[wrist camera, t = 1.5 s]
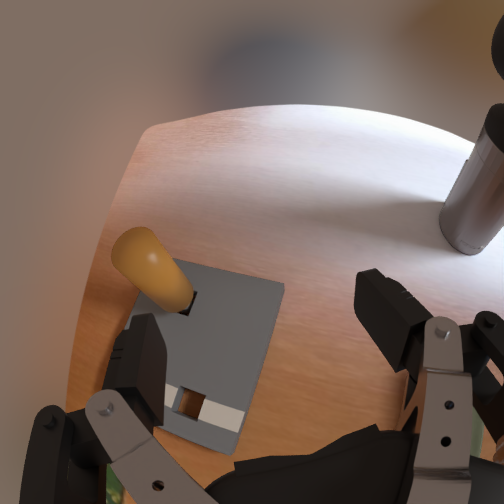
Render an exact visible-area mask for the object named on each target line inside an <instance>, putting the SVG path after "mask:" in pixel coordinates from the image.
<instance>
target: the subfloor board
mask: <svg viewBox="0 0 504 504" xmlns="http://www.w3.org/2000/svg"><path fill="white" fill-rule="evenodd" d="M172 259H173V260H174V262H175V263H176V264H177V265H178V267H179V268H180V269H181V271H182V272H183V273H184V275H185V276H186V277H187V279H188V280H189V281H190V282H191V284H192V286H193V290H194V294H193V295H195V296H196V298H195V301H194V303H193V306H192V308H191V311H190V314H189V316H185V315H182V314H179V313H170V312H167V311H165V310H163V309H162V308H161V307H160V306H159V305H157V304H156V303H155V302H154V301H153V300H151V299H150V298H149V297H148V296H147V295H145V294H144V293H143V292H142V291H141V290H140V293H139V295H138V297H137V300H136V302H135V304H134V307H133V309H132V311H131V314H130V316H129V319H128V321H127V324H126V326H125V329H124V330H126V329H129V326H130V322H131V319H132V316H133V315H139V314H145V313H152V314H153V315H154V317H155V319H156V322H157V324H158V327H159V329H160V332H161V334H162V336H163V339H164V341H165V344H166V348H167V370H166V385H165V403H164V426H158V427H160V428H162V429H164V430H166V431H168V432H171V433H173V434H175V435H177V436H180V437H182V438H184V439H187V440H189V441H191V442H194V443H196V444H199V445H202V446H204V447H207V448H210V449H212V450H215V451H218V452H221V453H224V454H227V455H232V454H233V453H234V451H235V448H236V445H237V442H238V439H239V436H240V434H241V431H242V428H243V425H244V422H245V419H246V416H247V413H248V410H249V407H250V404H251V401H252V398H253V394H254V391H255V388H256V385H257V382H258V379H259V375H260V372H261V369H262V366H263V363H264V359H265V356H266V353H267V349H268V346H269V343H270V339H271V336H272V333H273V329H274V326H275V322H276V319H277V315H278V312H279V308H280V305H281V301H282V297H283V294H284V283H280V282H275V281H271V280H266V279H261V278H257V277H252V276H248V275H243V274H239V273H234V272H230V271H226V270H221V269H217V268H212V267H208V266H204V265H200V264H195V263H191V262H187V261H183V260H178V259H174V258H172ZM185 388H188V389H190V390H193V391H196V392H198V393H201V394H204V395H206V398H205V399H204V402H203V405H202V408H201V411H200V414H199V417H198V419H196V418H194V417H191V416H188V415H186V414H184V413H181V412H179V411H178V408H179V405H180V402H181V399H182V396H183V393H184V390H185Z"/></svg>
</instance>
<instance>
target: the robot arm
mask: <svg viewBox="0 0 504 504" xmlns="http://www.w3.org/2000/svg"><path fill="white" fill-rule="evenodd" d="M491 54H492V59H493V63H494V66H495V68H496V70H497V72H498V73H499V75H500V76H501V77H502V79H503V80H504V15H503V16H502V18H501V19H500V21H499V23H498V25H497V27H496V29H495V32H494V35H493V39H492V46H491ZM439 220H440V226H441V230H442V232H443V234H444V236H445V237H446V239H447V240H448V241H449V243H450V244H451V245H452V246H453V247H455V248H456V249H457V250H459V251H460V252H462V253H465V254H469V255H475V254H478V253H480V252H481V251H482V250H483V249H484V248H485V247H486V246H487V245H488V244H489V242H490V241H491V240H492V239H493V238H494V237H495V236H496V234H497V233H498V232H499V231H500V230H501V228H502V227H503V226H504V104H502V103H500V104H495V105H493V106H492V107H491V108H490V110H489V112H488V114H487V117H486V119H485V122H484V125H483V127H482V130H481V132H480V135H479V137H478V140H477V142H476V144H475V146H474V149H473V151H472V153H471V155H470V157H469V159H467V160H466V161H465V163H464V165H463V167H462V169H461V171H460V174H459V176H458V178H457V180H456V181H455V183H454V185H453V187H452V189H451V191H450V193H449V195H448V197H447V199H446V200H445V205H444V207H443V209H442V211H441V213H440V218H439ZM354 310H355V314H356V316H357V318H358V319H359V321H360V322H361V324H362V325H363V326H364V328H365V329H366V331H367V332H368V333H369V335H370V336H371V338H372V339H373V341H374V342H375V343H376V345H377V346H378V348H379V349H380V351H381V352H382V354H383V355H384V356H385V358H386V359H387V361H388V362H389V364H390V365H391V367H392V368H393V370H394V371H395V373H397V372H399V371H401V370H404V369H407V371H408V375H407V378H406V385H405V391H404V397H403V403H402V408H401V413H400V417H399V420H398V423H397V425H396V428H395V430H385V431H379V429H378V427H377V425H376V424H373V425H371V426H368V427H366V428H363V429H361V430H358V431H355V432H352V433H350V434H347V435H344V436H342V437H341V438H339V439H337V440H336V441H334V442H332V443H331V444H329V445H327V446H326V447H324V448H322V449H320V450H318V451H317V452H315V453H313V454H310V455H291V456H266V457H261V458H256V459H250V460H244V461H238V462H234V467H235V470H234V471H232V472H229V473H227V474H225V475H223V476H221V477H219V478H218V479H216V480H215V481H213V482H212V483H211V484H210V485H208V486H207V487H206V488H205V489H204V488H203V487H202V486H200V485H199V484H198V483H197V482H196V481H195V480H194V479H193V478H192V477H191V476H190V475H189V474H188V473H187V472H186V471H185V470H184V469H183V468H182V467H181V466H180V465H179V464H178V463H177V462H176V461H175V460H174V459H173V458H172V457H171V455H170V454H169V453H168V452H167V451H166V450H165V449H164V448H163V447H162V445H161V444H160V443H159V442H158V441H157V440H156V439H155V437H154V436H153V427H154V426H164V403H165V385H166V370H167V348H166V344H165V341H164V339H163V336H162V334H161V332H160V329H159V327H158V324H157V322H156V319H155V317H154V315H153V314H152V313H145V314H139V315H133V316H132V319H131V322H130V326H129V329H126V330H122V332H121V333H120V334H119V336H118V337H117V338H116V339H115V343H114V346H113V352H112V353H111V357H110V359H111V360H109V364H108V368H107V371H106V375H105V379H104V383H103V387H102V390H101V391H99V392H97V393H95V394H94V395H93V396H91V397H90V399H89V400H88V402H87V404H86V407H85V408H84V409H81V410H77V411H74V412H70V413H67V414H66V413H65V412H64V411H63V410H62V409H61V408H60V407H58V406H56V405H50V406H47V407H44V408H43V409H41V410H40V412H38V414H37V416H36V417H35V420H34V425H33V428H32V432H31V436H30V441H29V445H28V449H27V454H26V459H25V464H24V471H23V477H22V484H21V491H20V501H19V504H106V469H107V463H110V465H111V468H112V469H113V471H114V473H115V474H116V476H117V477H118V479H119V480H120V482H121V483H122V484H123V486H124V487H125V489H126V490H127V491H128V493H129V494H130V495H131V497H132V498H133V499H134V501H135V502H136V503H137V504H504V383H503V386H501V385H500V383H499V382H498V381H497V379H496V378H495V377H494V375H493V374H492V373H491V371H490V370H489V369H488V367H487V366H486V365H487V363H488V361H489V359H490V358H491V360H492V361H493V362H494V363H495V365H496V366H497V367H498V368H499V370H500V371H501V372H502V374H503V377H504V320H503V319H502V318H501V317H499V316H498V315H497V314H495V313H493V312H490V311H481V312H479V313H478V314H477V315H476V317H475V319H474V322H473V324H467V325H460V326H458V325H457V324H456V323H455V322H454V321H453V320H451V319H449V318H446V317H440V316H438V317H434V316H433V315H432V314H431V313H430V312H429V311H428V310H427V309H426V308H425V307H424V306H423V305H422V304H421V303H420V302H419V301H418V300H417V299H416V298H415V297H413V295H412V294H411V293H410V292H408V291H407V290H406V289H405V288H404V287H403V286H402V285H401V284H400V283H399V282H397V281H395V280H393V279H391V278H389V277H388V278H386V277H385V276H384V275H383V274H382V273H381V272H379V271H378V270H377V269H376V268H374V269H370V270H366V271H362V272H358V273H357V276H356V285H355V297H354ZM472 405H473V407H474V408H475V410H476V412H477V413H478V415H479V416H480V418H481V420H482V421H483V423H484V425H485V426H486V428H487V430H488V431H489V433H490V435H491V436H492V438H493V440H494V442H495V443H496V453H495V454H494V456H493V461H494V462H492V461H488V460H485V459H481V458H478V457H475V456H472V455H470V448H471V436H472ZM111 462H112V463H111ZM68 466H69V469H68ZM67 476H68V479H67Z"/></svg>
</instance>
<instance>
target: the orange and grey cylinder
mask: <svg viewBox="0 0 504 504" xmlns="http://www.w3.org/2000/svg"><path fill="white" fill-rule="evenodd" d="M111 259H112V263H113V265H114V267H115V268H116V269H117V270H118V271H119V272H120V273H122V274H123V275H124V276H125V277H126V278H127V279H128V280H129V281H130V282H132V283H133V284H134V285H135V286H136V287H137V288H138V289H140V290H141V291H142V292H143V293H144V294H145V295H147V296H148V297H149V298H150V299H151V300H153V301H154V302H155V303H156V304H157V305H159V306H160V307H161V308H162V309H163V310H165V311H167V312H170V313H176V312H180V311H181V312H182V313H184V314H188V313H190V311H191V308H192V306H193V303H194V302H193V300H192V299H193V294H194V290H193V286H192V284H191V282H190V281H189V280H188V279H187V277H186V276H185V275H184V273H183V272H182V271H181V269H180V268H179V267H178V265H177V264H176V263H175V262H174V260H173V259H172V258H171V256H170V255H169V254H168V252H167V251H166V250H165V248H164V247H163V245H162V244H161V243H160V241H159V240H158V239H157V237H156V236H155V235H154V233H153V232H152V231H151V230H150V229H148V228H146V227H135V228H132V229H130V230H128V231H126V232H125V233H123V234H122V235H121V236H120V237H119V238H118V240H117V241H116V243H115V244H114V247H113V249H112V254H111Z"/></svg>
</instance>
